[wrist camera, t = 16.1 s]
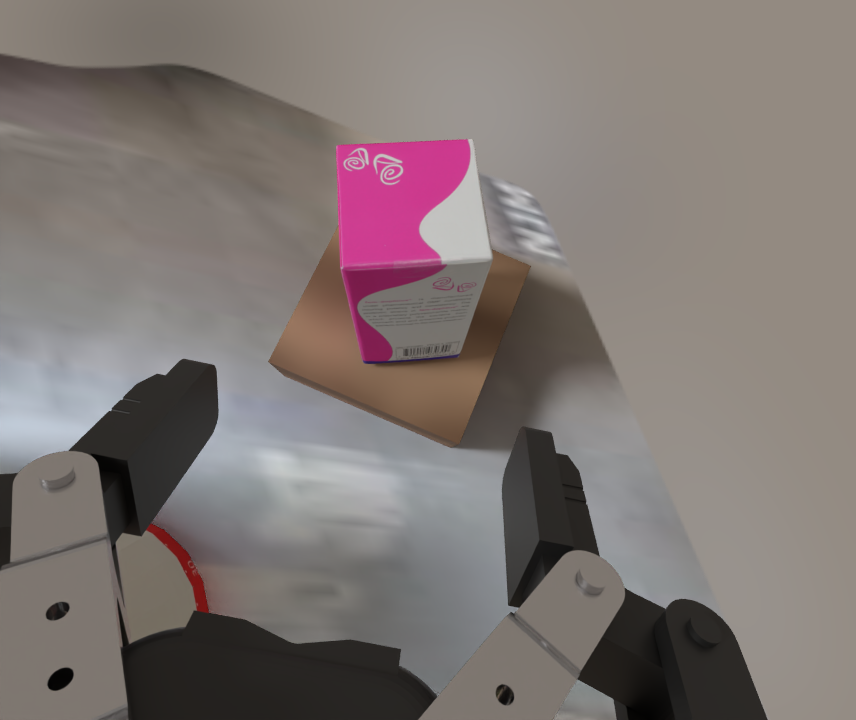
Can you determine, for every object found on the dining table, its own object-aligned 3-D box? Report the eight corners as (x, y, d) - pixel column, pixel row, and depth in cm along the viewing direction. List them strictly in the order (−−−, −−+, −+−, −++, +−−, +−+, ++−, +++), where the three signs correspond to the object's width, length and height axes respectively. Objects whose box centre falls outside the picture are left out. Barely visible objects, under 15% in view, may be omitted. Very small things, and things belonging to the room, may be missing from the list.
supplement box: (449, 268, 31) (479, 134, 20) (460, 359, 29) (499, 267, 18) (355, 273, 30) (333, 138, 20) (360, 366, 29) (339, 275, 18)
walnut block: (449, 447, 34) (459, 444, 29) (286, 377, 34) (268, 361, 29) (512, 293, 36) (530, 266, 31) (360, 228, 36) (355, 191, 32)
